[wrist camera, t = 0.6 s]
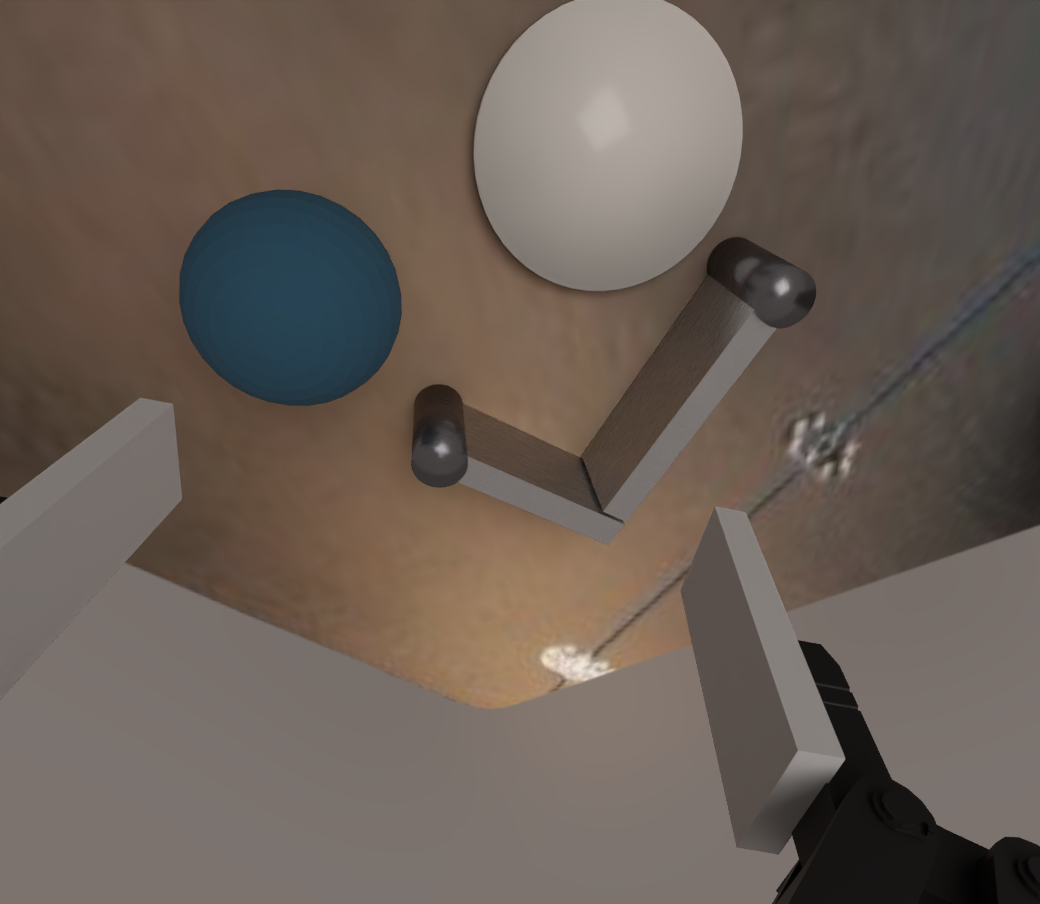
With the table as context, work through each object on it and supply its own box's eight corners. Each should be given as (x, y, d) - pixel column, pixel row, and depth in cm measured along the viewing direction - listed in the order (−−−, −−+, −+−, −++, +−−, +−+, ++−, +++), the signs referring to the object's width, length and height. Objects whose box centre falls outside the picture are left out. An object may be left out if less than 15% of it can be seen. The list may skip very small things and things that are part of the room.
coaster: (565, -77, 28) (569, -81, 27) (787, 100, 32) (797, 101, 31) (426, 207, 33) (426, 211, 32) (635, 326, 37) (640, 332, 36)
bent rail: (569, 119, 31) (598, 130, 26) (767, 253, 36) (828, 287, 30) (406, 415, 38) (401, 474, 33) (589, 497, 43) (612, 560, 37)
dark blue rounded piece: (322, 362, 36) (278, 481, 26) (198, 237, 32) (87, 318, 22) (441, 269, 34) (445, 356, 24) (325, 124, 30) (269, 154, 20)
